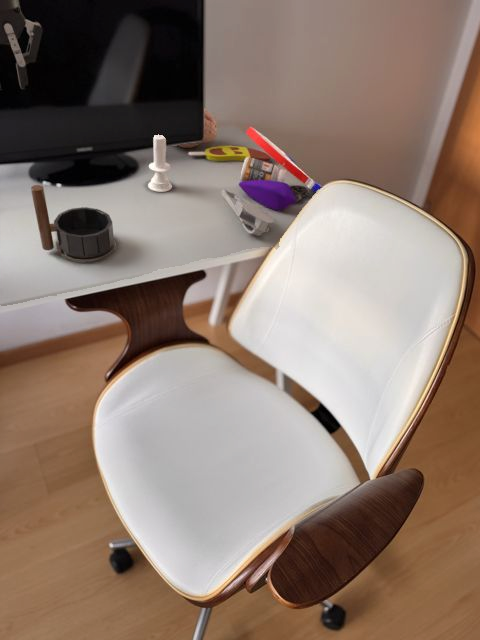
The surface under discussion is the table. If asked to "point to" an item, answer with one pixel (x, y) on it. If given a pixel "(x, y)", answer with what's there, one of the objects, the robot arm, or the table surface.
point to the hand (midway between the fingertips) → (10, 87)
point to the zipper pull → (249, 214)
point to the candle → (159, 166)
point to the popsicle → (232, 153)
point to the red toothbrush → (281, 158)
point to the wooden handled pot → (74, 228)
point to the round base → (86, 260)
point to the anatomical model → (205, 130)
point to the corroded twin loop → (299, 191)
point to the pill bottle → (261, 171)
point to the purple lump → (269, 193)
